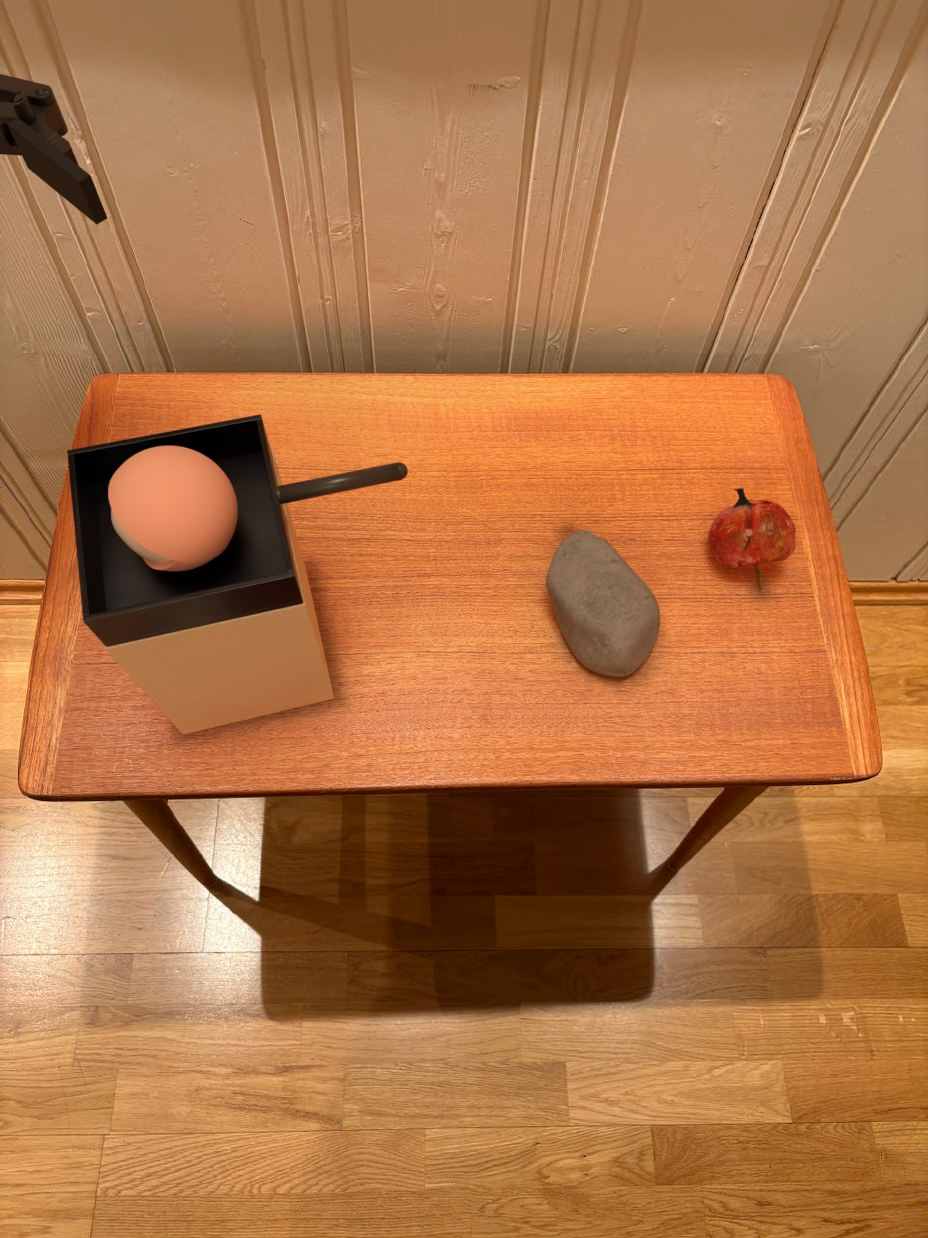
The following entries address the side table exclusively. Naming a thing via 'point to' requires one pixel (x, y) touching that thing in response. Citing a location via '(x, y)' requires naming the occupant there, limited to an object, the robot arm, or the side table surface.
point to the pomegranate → (752, 533)
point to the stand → (234, 662)
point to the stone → (602, 605)
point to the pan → (228, 584)
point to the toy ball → (173, 507)
